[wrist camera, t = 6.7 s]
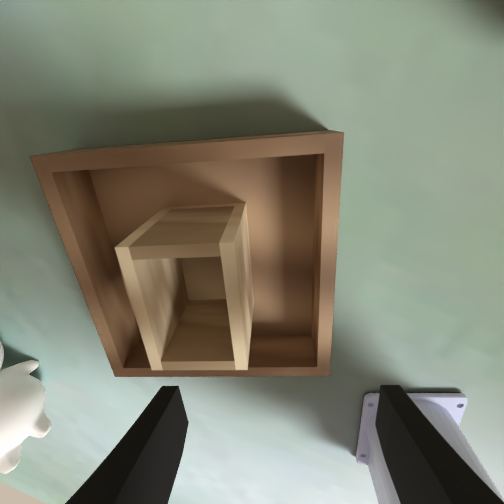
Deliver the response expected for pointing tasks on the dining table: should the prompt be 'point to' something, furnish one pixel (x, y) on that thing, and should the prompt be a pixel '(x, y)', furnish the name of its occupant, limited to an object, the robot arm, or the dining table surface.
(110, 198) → the large crate
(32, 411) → the cat figurine
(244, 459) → the dining table surface
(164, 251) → the small crate
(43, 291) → the dining table surface
